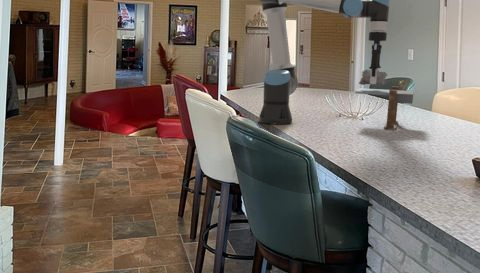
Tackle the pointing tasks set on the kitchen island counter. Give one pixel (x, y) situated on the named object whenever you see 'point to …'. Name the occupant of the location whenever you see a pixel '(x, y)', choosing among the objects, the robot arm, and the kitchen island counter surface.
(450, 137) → the kitchen island counter surface
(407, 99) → the trapdoor
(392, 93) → the frame
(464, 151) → the kitchen island counter surface
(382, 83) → the stone
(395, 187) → the kitchen island counter surface
